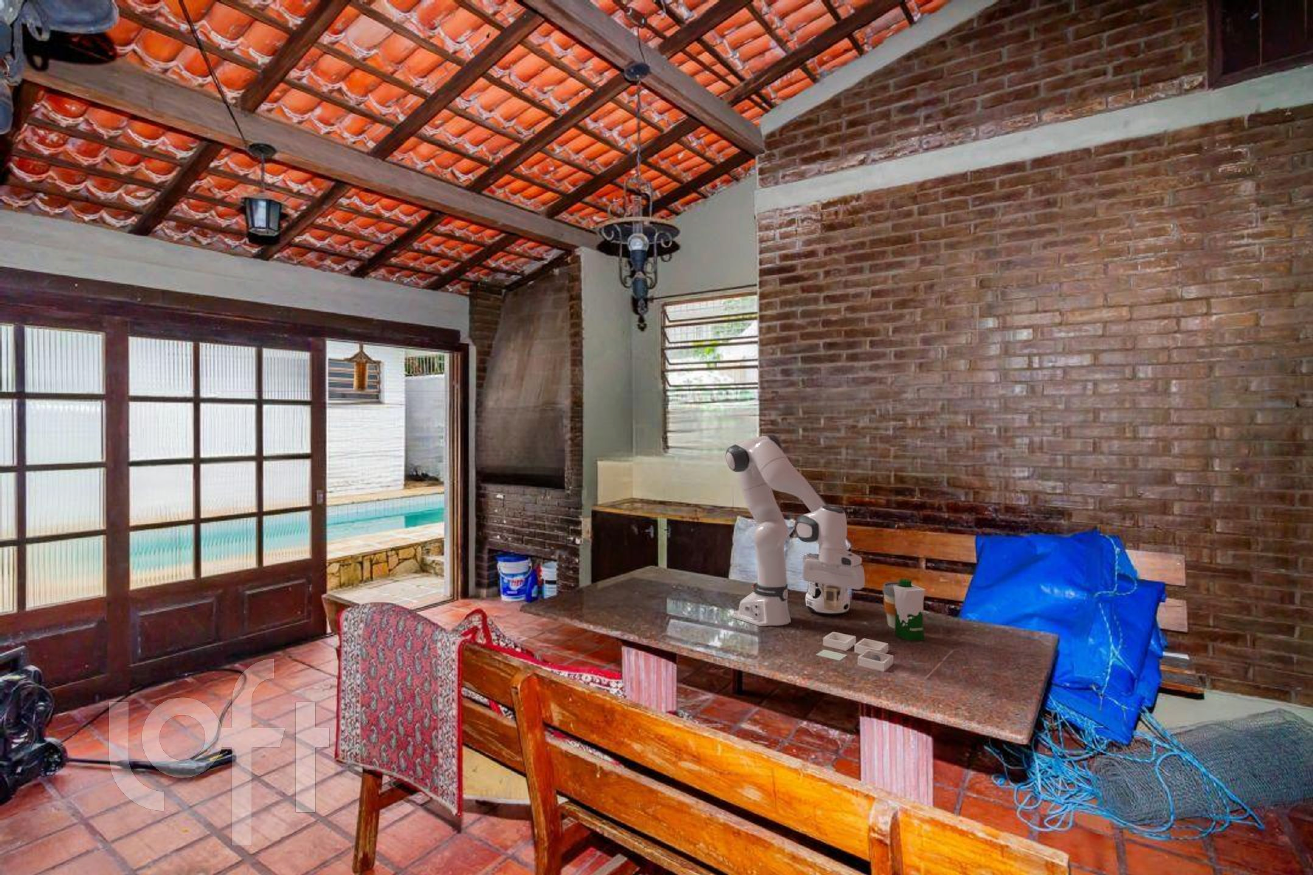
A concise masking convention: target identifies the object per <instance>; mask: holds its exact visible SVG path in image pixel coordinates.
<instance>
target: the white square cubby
mask: <svg viewBox="0 0 1313 875" xmlns="http://www.w3.org/2000/svg"><path fill="white" fill-rule="evenodd" d="M866 650H871V651H875V652H880V653H884V654H888V652H889V643H887V642H883V641H878V640H873V639H870V638H869V639H868V638H865V637H864V638H862V639H861V640H859V641H858V642H856V644H855V645H854V653H855V654H859V655H861V654H862V653H864V652H865V651H866Z"/></svg>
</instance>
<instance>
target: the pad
mask: <svg viewBox="0 0 1313 875" xmlns="http://www.w3.org/2000/svg"><path fill="white" fill-rule="evenodd" d="M815 655H816V656H818V657H823V658H827V659H831V660H835V661H842V660H843V659H844V658H846V657H848V654H844V653H840V652H837V651H832V650H827V649H822V650H821V651H819V652H818V653H816V654H815Z"/></svg>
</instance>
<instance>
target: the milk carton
mask: <svg viewBox="0 0 1313 875" xmlns="http://www.w3.org/2000/svg"><path fill="white" fill-rule="evenodd" d="M898 582H899V585H896V586H893V587H894V593H895V628H894V636H895V637H896V638H899V639H903V640H906V642H911V641H915V642H918V641H919V642H920V641H925V630H924V629H925V628H924V598H925V595H926V594H925V593H926V589H925V588H923V587H920V586H918V585H916V584H913V583H912V580H911V579H907V578H900V579H899V580H898ZM912 584H913V585H912ZM915 585H916V586H915Z"/></svg>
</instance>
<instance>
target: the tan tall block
mask: <svg viewBox="0 0 1313 875" xmlns="http://www.w3.org/2000/svg"><path fill="white" fill-rule="evenodd" d="M838 594H841V587H838V586H831V585H828V586H826V587H824V609H827V610H832V611H837V610H839V609H841V600H838Z"/></svg>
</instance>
